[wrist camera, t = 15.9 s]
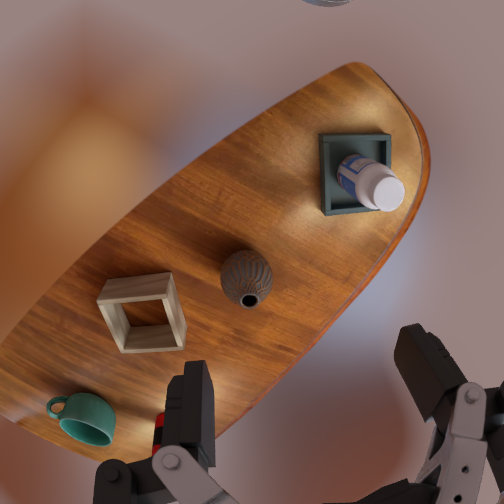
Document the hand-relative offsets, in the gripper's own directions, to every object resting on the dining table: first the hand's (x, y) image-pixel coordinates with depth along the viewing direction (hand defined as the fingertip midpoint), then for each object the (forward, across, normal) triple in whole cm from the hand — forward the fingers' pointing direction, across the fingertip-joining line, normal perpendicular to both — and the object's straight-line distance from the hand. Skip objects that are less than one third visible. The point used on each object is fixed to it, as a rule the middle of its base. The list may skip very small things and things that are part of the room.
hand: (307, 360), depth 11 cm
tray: (+30, -14, +1) cm, 33 cm away
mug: (+30, +43, +44) cm, 69 cm away
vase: (+30, +2, +13) cm, 33 cm away
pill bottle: (+30, -14, +1) cm, 33 cm away
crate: (+30, +18, +18) cm, 39 cm away
